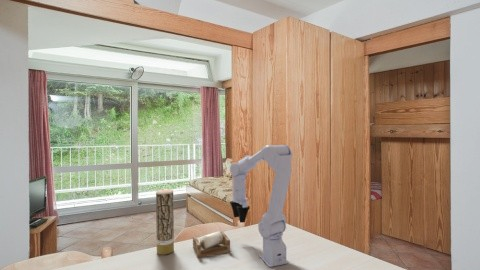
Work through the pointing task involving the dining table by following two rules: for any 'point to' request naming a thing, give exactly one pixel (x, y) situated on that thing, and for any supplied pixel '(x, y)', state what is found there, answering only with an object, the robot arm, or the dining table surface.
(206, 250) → the holder
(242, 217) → the robot arm
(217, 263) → the dining table surface
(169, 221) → the paper tube
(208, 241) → the roll
